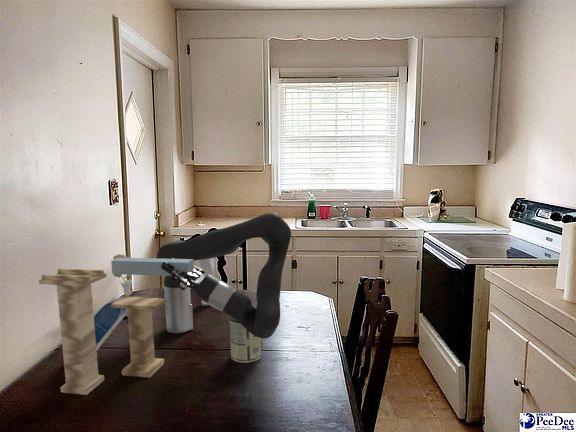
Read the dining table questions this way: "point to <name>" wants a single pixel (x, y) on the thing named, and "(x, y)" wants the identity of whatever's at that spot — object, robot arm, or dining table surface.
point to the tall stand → (77, 327)
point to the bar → (149, 266)
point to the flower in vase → (124, 283)
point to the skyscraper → (207, 270)
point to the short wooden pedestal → (141, 335)
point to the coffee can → (244, 343)
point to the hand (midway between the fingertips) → (166, 262)
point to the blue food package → (108, 320)
